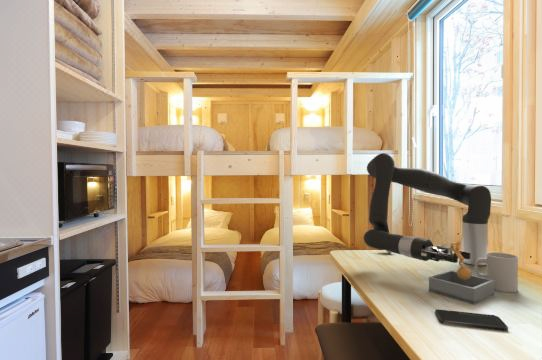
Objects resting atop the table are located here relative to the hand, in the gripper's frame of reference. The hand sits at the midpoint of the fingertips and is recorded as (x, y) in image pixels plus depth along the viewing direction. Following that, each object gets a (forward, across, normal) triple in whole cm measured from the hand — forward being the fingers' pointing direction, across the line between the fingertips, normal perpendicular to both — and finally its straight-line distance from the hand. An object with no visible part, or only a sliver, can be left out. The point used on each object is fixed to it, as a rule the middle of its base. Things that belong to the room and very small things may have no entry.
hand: (463, 257), depth 104 cm
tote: (-1, 0, +11) cm, 11 cm away
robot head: (-47, +29, +12) cm, 56 cm away
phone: (+10, -19, +12) cm, 25 cm away
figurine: (-1, 0, +7) cm, 7 cm away
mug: (+3, +15, +12) cm, 19 cm away
